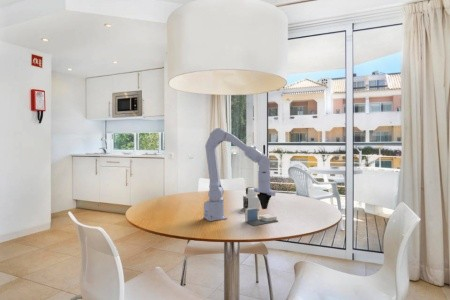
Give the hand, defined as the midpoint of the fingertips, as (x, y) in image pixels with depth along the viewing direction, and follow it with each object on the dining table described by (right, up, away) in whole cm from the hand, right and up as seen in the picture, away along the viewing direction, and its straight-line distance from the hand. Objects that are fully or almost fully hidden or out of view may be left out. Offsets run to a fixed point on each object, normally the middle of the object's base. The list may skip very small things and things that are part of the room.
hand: (264, 208), depth 137 cm
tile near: (-6, -5, -3) cm, 9 cm away
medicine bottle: (-4, -5, +22) cm, 23 cm away
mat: (-2, -5, -5) cm, 7 cm away
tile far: (0, -4, +1) cm, 4 cm away
